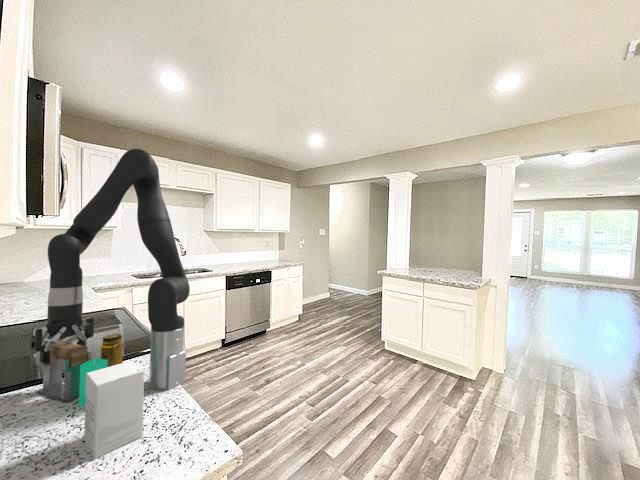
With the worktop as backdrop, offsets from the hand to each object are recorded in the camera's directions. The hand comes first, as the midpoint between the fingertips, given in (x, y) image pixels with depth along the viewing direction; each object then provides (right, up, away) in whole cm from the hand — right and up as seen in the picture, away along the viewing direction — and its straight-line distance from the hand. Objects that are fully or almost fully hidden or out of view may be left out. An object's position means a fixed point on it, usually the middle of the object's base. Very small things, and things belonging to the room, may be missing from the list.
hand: (63, 358), depth 81 cm
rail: (0, -1, 0) cm, 1 cm away
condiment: (+3, -11, +15) cm, 19 cm away
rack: (0, -10, 0) cm, 10 cm away
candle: (+11, -10, -4) cm, 16 cm away
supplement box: (+28, -10, -18) cm, 35 cm away
